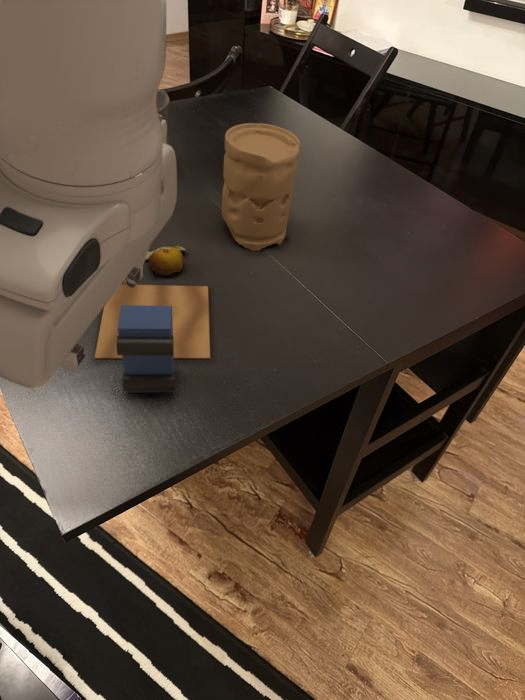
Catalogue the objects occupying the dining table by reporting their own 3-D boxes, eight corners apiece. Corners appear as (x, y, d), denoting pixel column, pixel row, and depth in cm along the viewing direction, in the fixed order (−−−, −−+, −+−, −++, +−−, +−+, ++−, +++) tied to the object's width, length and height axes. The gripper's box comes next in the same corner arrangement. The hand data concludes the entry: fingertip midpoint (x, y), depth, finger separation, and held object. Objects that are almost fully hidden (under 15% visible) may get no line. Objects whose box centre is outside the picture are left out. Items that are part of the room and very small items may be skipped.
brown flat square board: (94, 359, 67) (94, 357, 66) (108, 285, 77) (108, 284, 77) (210, 359, 69) (210, 357, 69) (207, 287, 80) (208, 286, 79)
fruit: (182, 246, 87) (181, 229, 84) (195, 274, 82) (195, 257, 79) (136, 253, 84) (134, 235, 81) (146, 282, 79) (144, 264, 76)
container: (298, 233, 94) (315, 142, 81) (256, 259, 86) (267, 163, 73) (250, 207, 98) (258, 117, 85) (206, 229, 91) (209, 134, 78)
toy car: (125, 401, 62) (114, 337, 54) (129, 364, 67) (120, 299, 58) (174, 400, 63) (172, 337, 54) (176, 364, 67) (173, 300, 59)
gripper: (123, 83, 34) (128, 228, 46) (-93, 268, 22) (-14, 401, 34) (204, 116, 34) (189, 253, 45) (29, 319, 22) (68, 436, 34)
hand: (102, 318), depth 39 cm, fingers open, 8 cm apart
